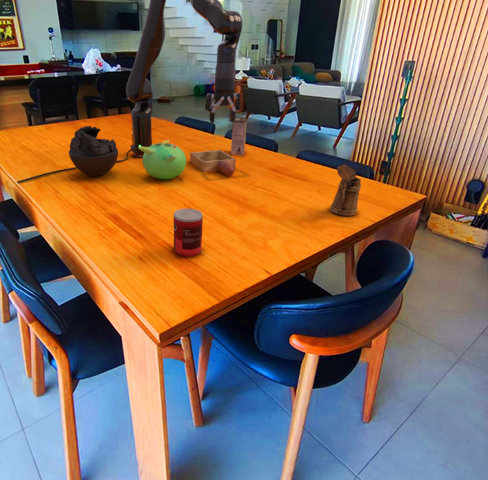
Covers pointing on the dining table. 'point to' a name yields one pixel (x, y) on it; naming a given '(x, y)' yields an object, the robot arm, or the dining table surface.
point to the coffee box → (238, 136)
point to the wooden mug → (346, 192)
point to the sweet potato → (225, 168)
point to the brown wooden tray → (210, 160)
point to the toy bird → (163, 160)
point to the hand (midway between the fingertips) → (221, 122)
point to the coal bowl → (92, 152)
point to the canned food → (188, 232)
